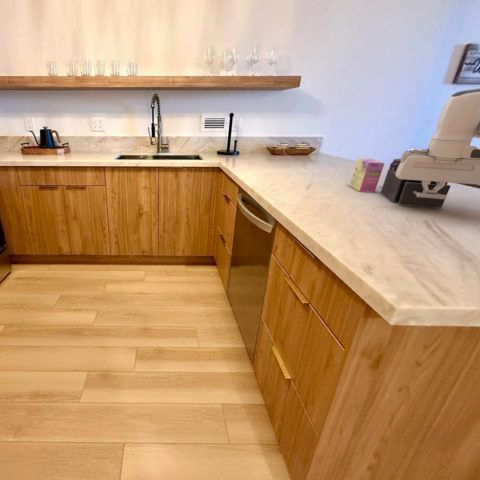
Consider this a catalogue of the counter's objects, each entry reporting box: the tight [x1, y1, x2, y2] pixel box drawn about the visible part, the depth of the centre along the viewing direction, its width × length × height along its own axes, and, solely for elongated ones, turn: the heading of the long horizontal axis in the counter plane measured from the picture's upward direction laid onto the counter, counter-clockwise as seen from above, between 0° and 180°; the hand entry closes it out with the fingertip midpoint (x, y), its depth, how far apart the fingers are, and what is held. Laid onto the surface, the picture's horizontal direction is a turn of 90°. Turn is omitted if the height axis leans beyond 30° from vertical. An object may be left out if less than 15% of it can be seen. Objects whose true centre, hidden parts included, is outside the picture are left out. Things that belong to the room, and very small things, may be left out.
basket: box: [397, 180, 452, 209], centre depth 97 cm, size 18×11×7 cm, turn 159°
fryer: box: [380, 169, 449, 204], centre depth 103 cm, size 15×13×9 cm
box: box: [348, 157, 385, 193], centre depth 116 cm, size 10×6×12 cm, turn 168°
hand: (428, 195), depth 91 cm, fingers closed
